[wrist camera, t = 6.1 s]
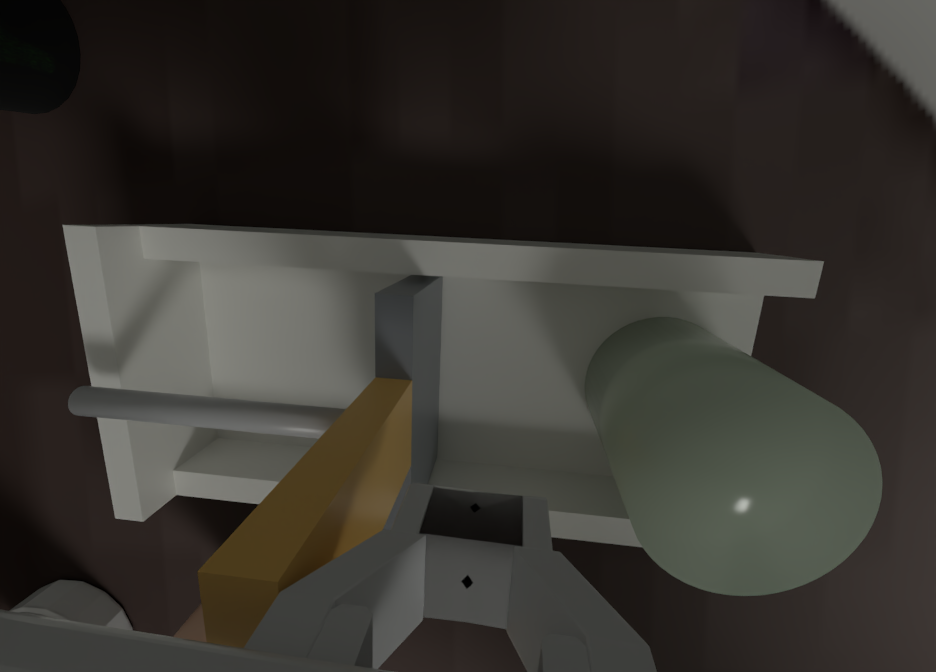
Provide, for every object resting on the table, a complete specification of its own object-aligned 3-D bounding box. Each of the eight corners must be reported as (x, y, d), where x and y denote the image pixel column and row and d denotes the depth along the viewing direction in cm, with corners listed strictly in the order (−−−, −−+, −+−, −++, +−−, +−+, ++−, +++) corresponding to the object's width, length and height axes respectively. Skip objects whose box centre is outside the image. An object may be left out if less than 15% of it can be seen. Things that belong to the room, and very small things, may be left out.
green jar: (745, 321, 18) (914, 397, 10) (717, 456, 20) (846, 609, 12) (592, 312, 19) (645, 376, 11) (577, 443, 20) (613, 581, 12)
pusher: (442, 274, 19) (264, 402, 6) (437, 455, 21) (298, 855, 8) (191, 260, 20) (-455, 338, 7) (210, 433, 22) (-250, 752, 9)
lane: (757, 252, 18) (865, 267, 13) (707, 495, 21) (776, 597, 16) (189, 223, 21) (62, 225, 15) (213, 445, 24) (115, 518, 18)
